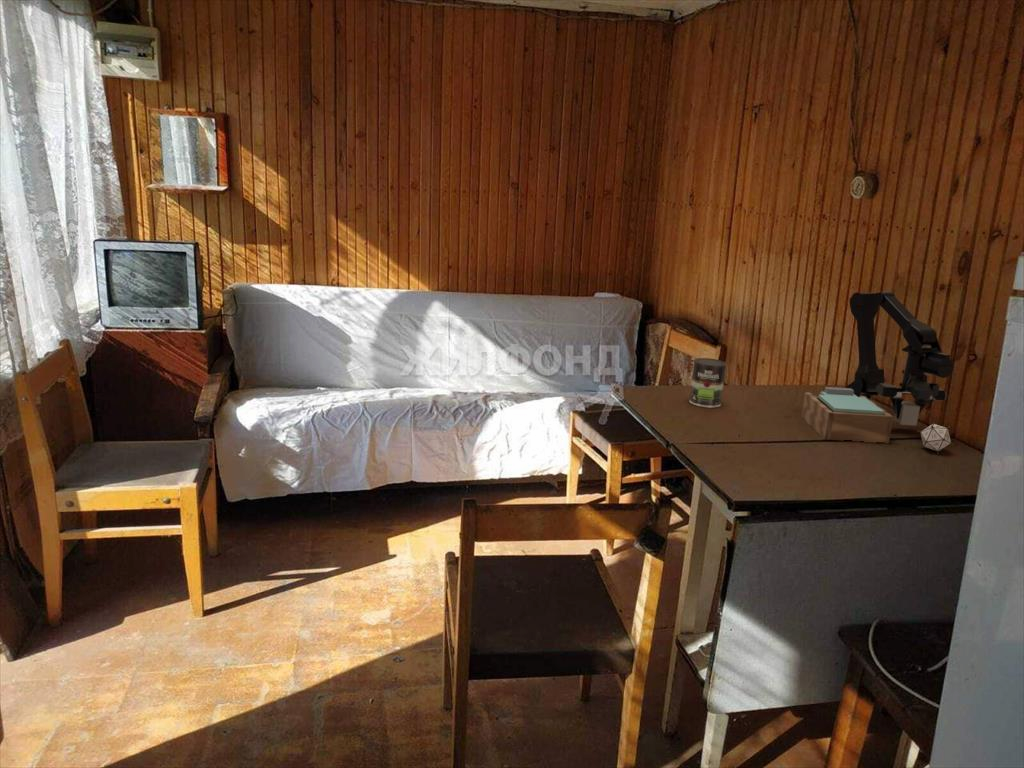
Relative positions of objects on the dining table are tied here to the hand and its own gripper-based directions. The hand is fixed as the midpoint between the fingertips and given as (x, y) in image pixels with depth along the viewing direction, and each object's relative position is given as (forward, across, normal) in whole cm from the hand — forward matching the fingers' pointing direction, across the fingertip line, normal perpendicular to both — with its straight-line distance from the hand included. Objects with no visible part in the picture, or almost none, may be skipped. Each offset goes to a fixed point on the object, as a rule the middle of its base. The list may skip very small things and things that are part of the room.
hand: (905, 418), depth 238 cm
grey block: (+1, 0, 0) cm, 1 cm away
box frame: (+4, -19, -2) cm, 20 cm away
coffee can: (+4, -57, +17) cm, 60 cm away
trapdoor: (-4, -19, -2) cm, 20 cm away
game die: (+4, +1, -17) cm, 18 cm away
